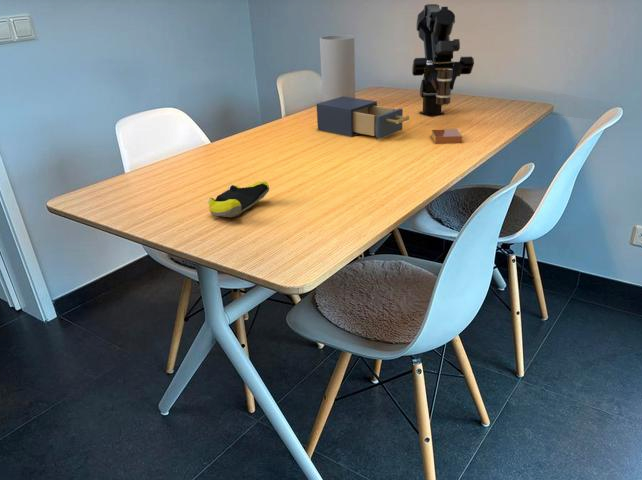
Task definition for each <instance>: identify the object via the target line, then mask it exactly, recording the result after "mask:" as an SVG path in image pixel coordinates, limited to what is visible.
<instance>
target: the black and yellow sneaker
mask: <svg viewBox="0 0 642 480" xmlns="http://www.w3.org/2000/svg"><path fill="white" fill-rule="evenodd" d="M269 191H270V186H269V183H268V182H267V181H257V182H255V183H253V184H251V185H248V186H246V187H240V186H238V185H236V184H235V185H234V184H231V185H229V186H228V189H227V190H225V191H223V192H222V193H221V194H218V195H217V196H216V197H215V198H213V197H208V198H206V201H207V203H208V205H209V206H208V209H209V212H210V214H211V215H213V216H214V217H215V216H216V217H222V218H223V217H224V218H234V217H235V218H237V217H239V216H241V215H242V213H243V212H244V211H246V210H248V209H250V208H251V207H252V206H254V205H256V204H257V202H259V201H260V200H262V199H263V198H265V196H266V195H267V194H268V193H269Z"/></svg>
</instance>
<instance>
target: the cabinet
mask: <svg viewBox="0 0 642 480" xmlns="http://www.w3.org/2000/svg"><path fill="white" fill-rule="evenodd" d="M372 105H374V106H378V101H377V100H369V99H364V98H357V97H355V98H351V97H344V96H342V97H339V98H335V99H332V100H328V101H325V102H323V101H322V102H317V103H316V123H317V131H321V132H326V133H330V134H336V135H341V136H346V137H349V138H350V137H355V136H357V135H360V134H361V133H356V132H353V114H352V112H353V111H356V110H359V109H362V108H365V107H369V106H372Z"/></svg>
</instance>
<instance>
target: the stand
mask: <svg viewBox="0 0 642 480" xmlns="http://www.w3.org/2000/svg"><path fill="white" fill-rule="evenodd" d="M431 138H432V140H433V142H434V143H435V144H457V143H458V144H459V143H460V144H462V143H463V141H462V139H463V136H462V133H460V131H459V130H458V128H457V129H455V128H454V129H453V128H452V129H450V128H449V129H431Z"/></svg>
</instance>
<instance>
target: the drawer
mask: <svg viewBox="0 0 642 480" xmlns="http://www.w3.org/2000/svg"><path fill="white" fill-rule="evenodd" d="M403 111H404V110H403V108H397V109H396V108H392V107H386V106H380V105H377V106H374V105H372V106H369V107H365V108H362V109H359V110H356V111H353V112H352V114H353V132H356V133H360V134H362V135H366V136H371V137H372V136H373V137H375V138H376V140H377V139H378V140H381V139H383V138H386V137H388V136H391V135H393V134H395V133H398V132H400V131H403V123H404V122H407V121H410V116H409V115H407V116H403Z"/></svg>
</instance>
